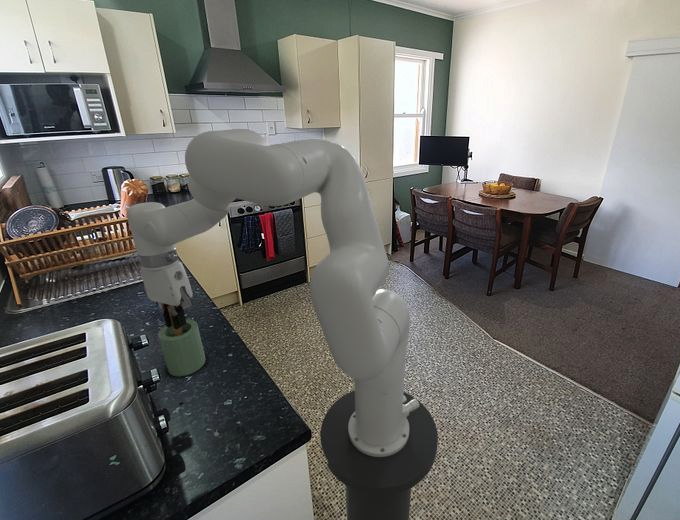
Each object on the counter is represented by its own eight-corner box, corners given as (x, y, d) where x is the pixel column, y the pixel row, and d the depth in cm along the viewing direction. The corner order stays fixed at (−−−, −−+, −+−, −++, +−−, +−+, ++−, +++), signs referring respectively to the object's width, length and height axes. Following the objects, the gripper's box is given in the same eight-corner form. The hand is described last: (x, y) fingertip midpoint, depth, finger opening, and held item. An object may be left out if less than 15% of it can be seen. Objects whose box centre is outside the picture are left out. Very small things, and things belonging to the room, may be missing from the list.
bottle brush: (190, 353, 92) (177, 301, 85) (192, 359, 89) (179, 306, 83) (178, 358, 90) (163, 305, 84) (180, 364, 88) (165, 310, 82)
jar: (201, 349, 96) (193, 315, 92) (208, 367, 89) (200, 331, 85) (165, 361, 92) (155, 326, 87) (170, 381, 85) (160, 345, 81)
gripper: (198, 255, 79) (212, 323, 86) (147, 247, 84) (165, 311, 92) (171, 269, 73) (189, 340, 80) (118, 259, 78) (140, 327, 85)
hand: (176, 324), depth 86 cm, fingers closed on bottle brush
